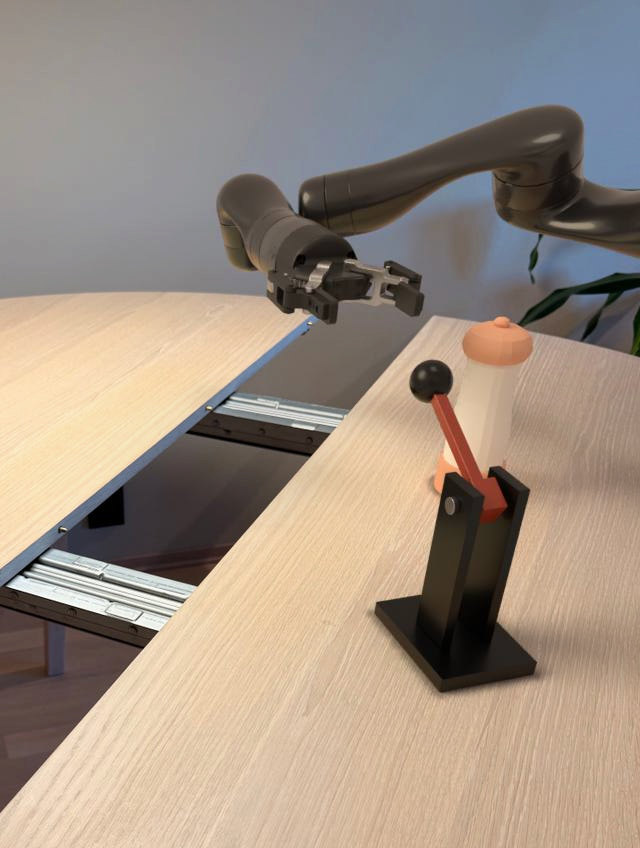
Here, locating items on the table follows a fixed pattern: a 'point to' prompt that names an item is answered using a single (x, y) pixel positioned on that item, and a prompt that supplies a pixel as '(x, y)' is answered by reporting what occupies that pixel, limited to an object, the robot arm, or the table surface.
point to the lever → (455, 432)
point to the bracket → (464, 591)
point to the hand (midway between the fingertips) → (376, 310)
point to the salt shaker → (487, 393)
